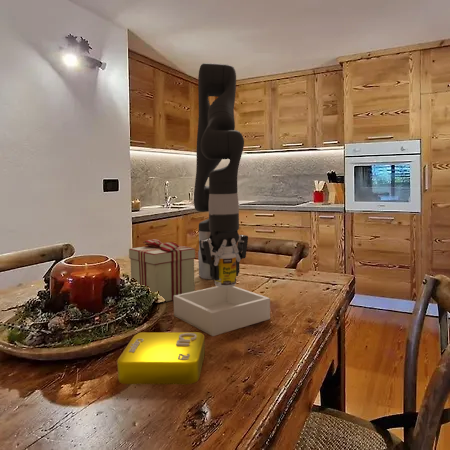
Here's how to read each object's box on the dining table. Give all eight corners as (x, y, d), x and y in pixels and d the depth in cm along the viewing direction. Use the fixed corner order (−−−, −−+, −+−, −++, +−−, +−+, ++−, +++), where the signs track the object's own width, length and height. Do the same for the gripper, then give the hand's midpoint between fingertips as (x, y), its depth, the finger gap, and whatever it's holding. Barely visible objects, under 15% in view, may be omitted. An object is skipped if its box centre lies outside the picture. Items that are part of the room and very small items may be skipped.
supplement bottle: (222, 289, 100) (221, 248, 99) (210, 284, 105) (209, 245, 104) (240, 285, 103) (240, 246, 102) (228, 281, 108) (227, 243, 107)
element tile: (136, 350, 88) (135, 329, 88) (205, 350, 88) (205, 329, 87) (115, 386, 73) (113, 360, 73) (198, 386, 73) (197, 361, 72)
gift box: (205, 292, 130) (203, 238, 128) (159, 306, 117) (157, 247, 115) (170, 283, 142) (168, 234, 140) (125, 295, 128) (122, 241, 126)
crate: (174, 315, 109) (173, 295, 108) (227, 302, 119) (227, 283, 119) (212, 336, 94) (212, 313, 94) (270, 318, 105) (269, 298, 104)
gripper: (237, 209, 109) (238, 270, 111) (191, 212, 101) (193, 279, 103) (255, 210, 103) (256, 276, 105) (208, 214, 95) (210, 285, 97)
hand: (225, 277), depth 104 cm, fingers closed on supplement bottle, 5 cm apart
